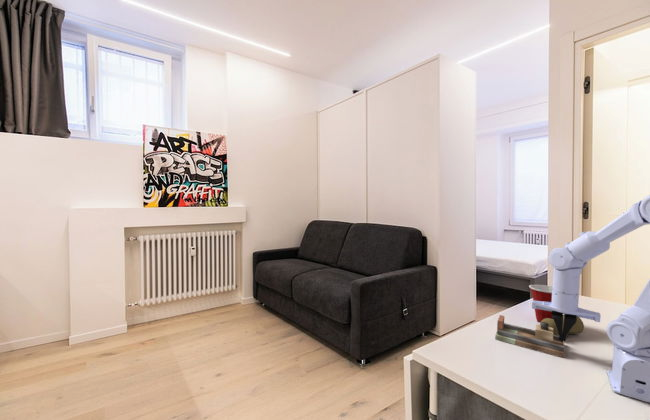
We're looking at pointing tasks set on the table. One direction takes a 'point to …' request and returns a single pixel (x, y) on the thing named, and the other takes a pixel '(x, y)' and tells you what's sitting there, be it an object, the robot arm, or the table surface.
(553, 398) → the table surface
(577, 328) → the brown rounded lump
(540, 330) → the slider
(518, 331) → the track
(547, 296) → the plastic cup
